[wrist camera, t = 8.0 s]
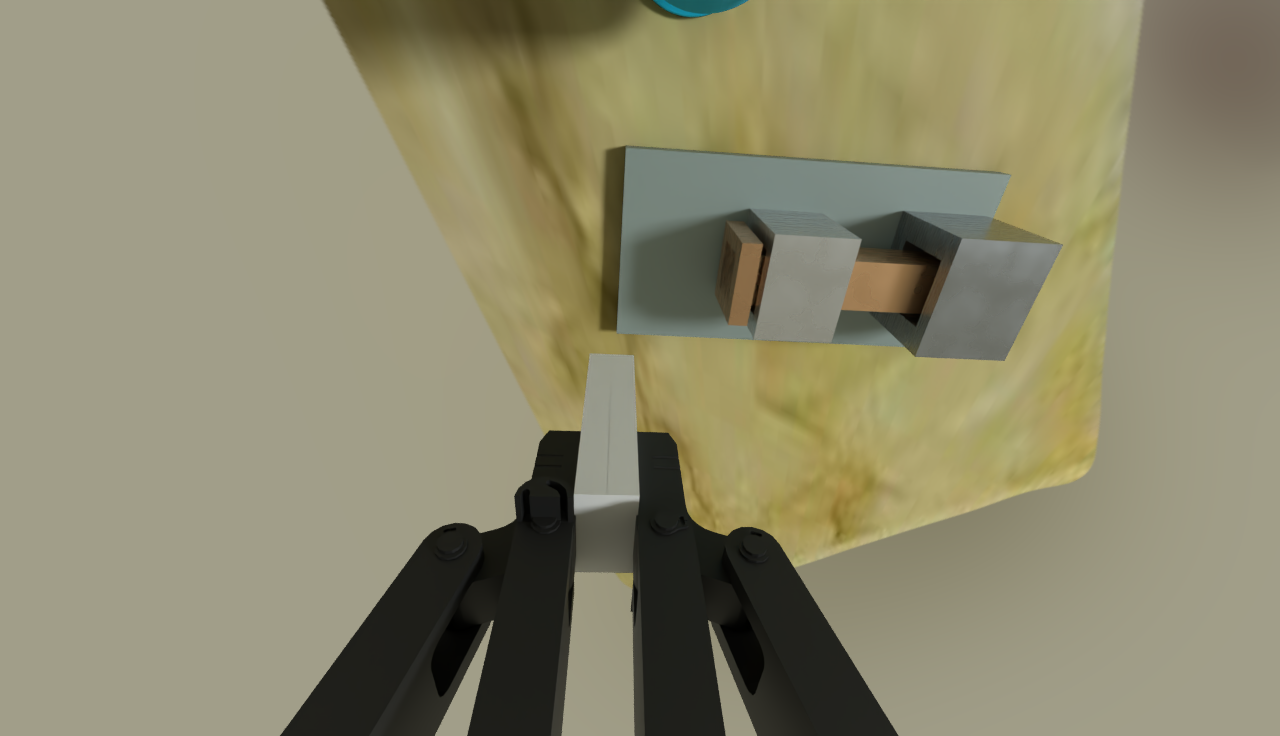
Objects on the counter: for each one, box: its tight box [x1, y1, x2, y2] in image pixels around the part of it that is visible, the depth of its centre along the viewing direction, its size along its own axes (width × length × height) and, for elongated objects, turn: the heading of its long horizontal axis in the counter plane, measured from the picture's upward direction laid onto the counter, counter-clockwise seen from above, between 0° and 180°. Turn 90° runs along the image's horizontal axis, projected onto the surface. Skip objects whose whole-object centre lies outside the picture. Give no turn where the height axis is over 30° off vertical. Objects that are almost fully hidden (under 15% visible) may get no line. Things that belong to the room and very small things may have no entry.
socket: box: [869, 211, 1063, 361], centre depth 33 cm, size 8×6×7 cm
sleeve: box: [747, 208, 862, 343], centre depth 32 cm, size 7×5×6 cm
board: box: [617, 146, 1011, 347], centre depth 36 cm, size 13×26×1 cm, turn 86°
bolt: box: [715, 220, 942, 326], centre depth 32 cm, size 5×15×5 cm, turn 86°
